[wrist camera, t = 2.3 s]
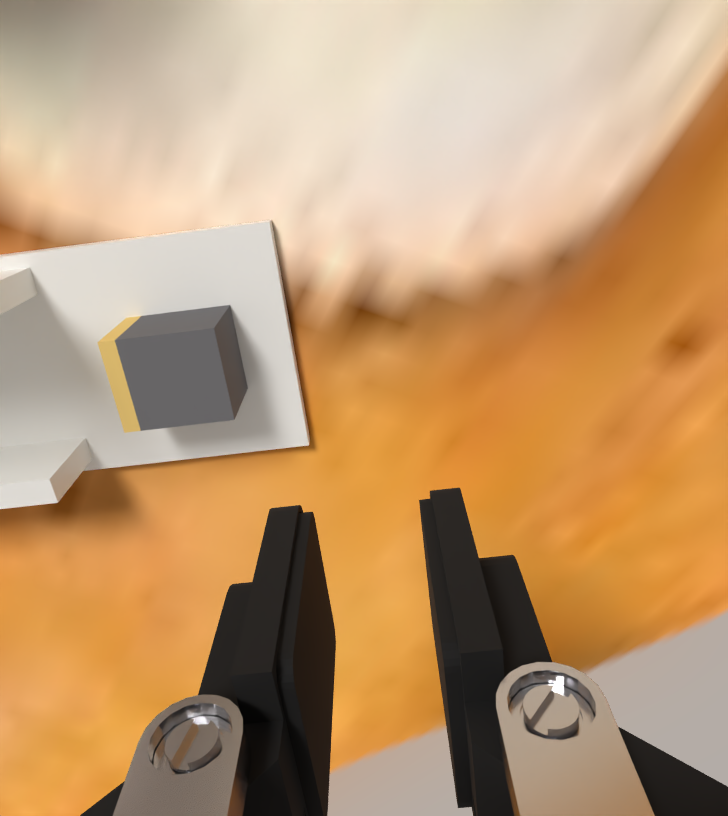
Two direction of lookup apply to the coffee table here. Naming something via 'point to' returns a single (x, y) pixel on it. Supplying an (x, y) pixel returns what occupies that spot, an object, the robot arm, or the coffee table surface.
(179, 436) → the white ledged tray
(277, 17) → the coffee table surface
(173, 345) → the yellow-capped grey cube
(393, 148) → the coffee table surface
